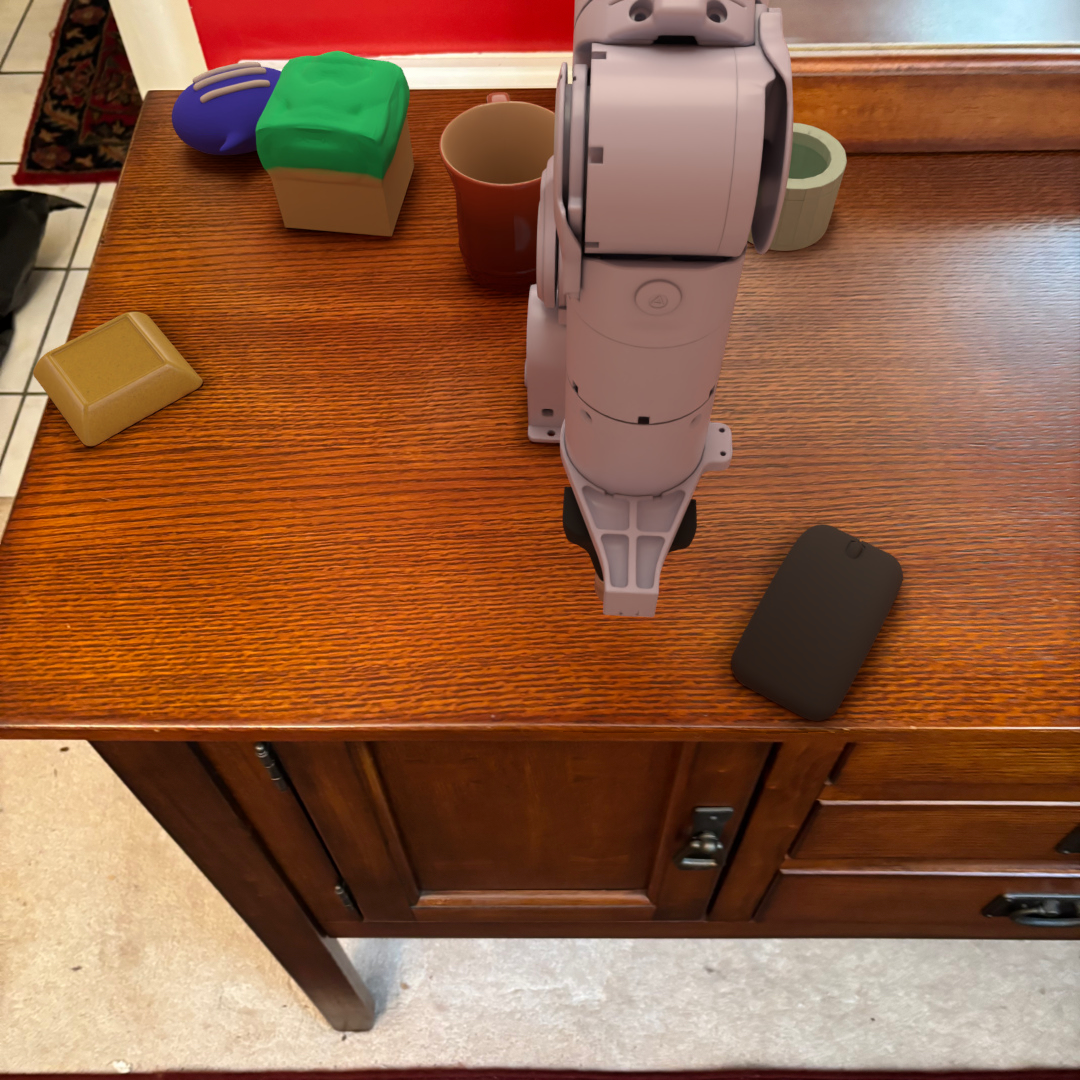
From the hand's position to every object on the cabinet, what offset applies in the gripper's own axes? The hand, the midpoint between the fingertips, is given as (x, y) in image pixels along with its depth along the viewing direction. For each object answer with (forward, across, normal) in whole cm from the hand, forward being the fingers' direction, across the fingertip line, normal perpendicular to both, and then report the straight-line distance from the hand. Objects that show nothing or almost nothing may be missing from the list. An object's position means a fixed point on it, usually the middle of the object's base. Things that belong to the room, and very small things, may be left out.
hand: (621, 553), depth 48 cm
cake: (+9, +37, +21) cm, 43 cm away
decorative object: (+4, +38, +29) cm, 48 cm away
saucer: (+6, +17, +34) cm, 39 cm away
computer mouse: (+9, +1, -12) cm, 15 cm away
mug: (+9, +31, +8) cm, 34 cm away
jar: (+9, +36, -12) cm, 39 cm away
